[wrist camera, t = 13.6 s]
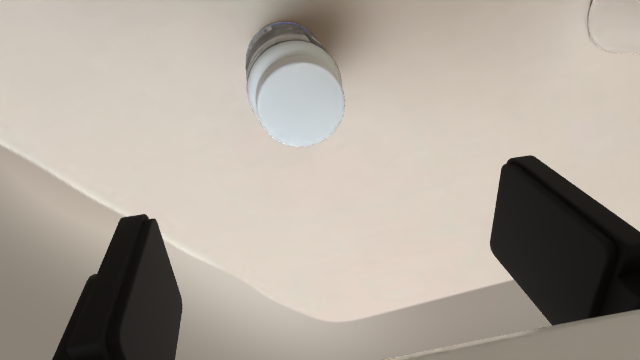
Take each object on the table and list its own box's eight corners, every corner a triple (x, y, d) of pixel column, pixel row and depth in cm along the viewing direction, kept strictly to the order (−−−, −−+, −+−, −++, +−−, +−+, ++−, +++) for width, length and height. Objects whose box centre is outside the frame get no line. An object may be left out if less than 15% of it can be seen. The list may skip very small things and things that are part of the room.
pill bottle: (329, 88, 27) (361, 142, 20) (257, 106, 27) (264, 166, 20) (314, 11, 25) (344, 41, 18) (235, 30, 25) (234, 69, 18)
